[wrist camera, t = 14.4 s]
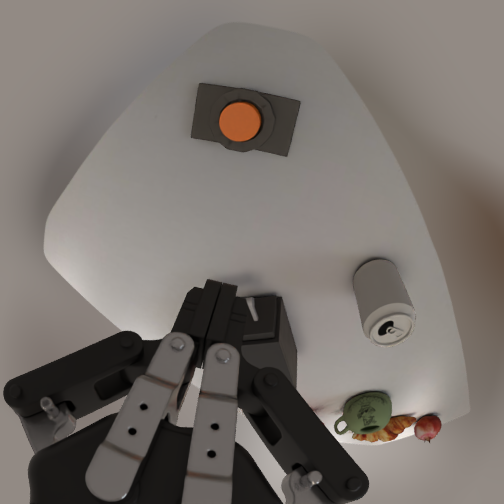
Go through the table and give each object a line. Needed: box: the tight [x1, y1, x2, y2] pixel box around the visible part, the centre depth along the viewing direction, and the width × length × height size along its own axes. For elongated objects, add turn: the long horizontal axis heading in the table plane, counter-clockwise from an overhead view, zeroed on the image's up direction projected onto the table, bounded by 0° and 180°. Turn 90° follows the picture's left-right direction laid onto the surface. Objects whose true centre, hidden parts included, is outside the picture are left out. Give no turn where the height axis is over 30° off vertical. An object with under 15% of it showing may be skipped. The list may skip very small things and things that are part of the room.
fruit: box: [414, 415, 441, 443], centre depth 66 cm, size 9×10×10 cm
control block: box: [191, 83, 301, 157], centre depth 31 cm, size 12×7×3 cm, turn 79°
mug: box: [334, 392, 392, 435], centre depth 61 cm, size 16×13×9 cm
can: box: [353, 259, 416, 347], centre depth 38 cm, size 8×8×12 cm
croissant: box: [352, 416, 416, 442], centre depth 70 cm, size 21×10×8 cm, turn 125°
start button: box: [219, 102, 261, 142], centre depth 30 cm, size 4×4×2 cm
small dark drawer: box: [242, 296, 278, 342], centre depth 46 cm, size 18×11×8 cm, turn 16°
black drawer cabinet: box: [241, 297, 297, 389], centre depth 48 cm, size 15×13×10 cm
